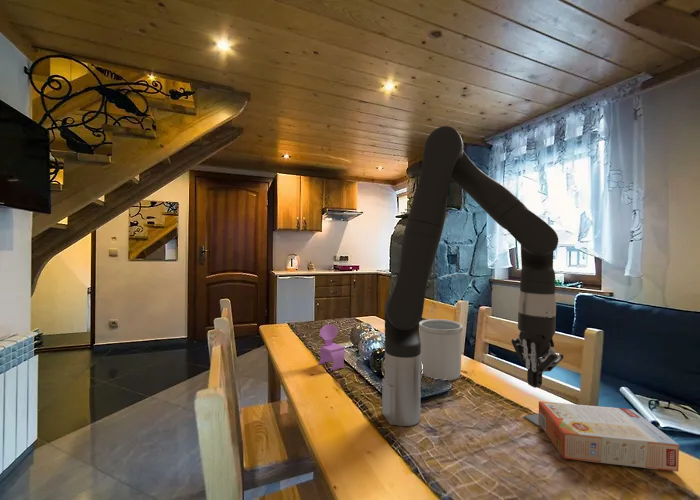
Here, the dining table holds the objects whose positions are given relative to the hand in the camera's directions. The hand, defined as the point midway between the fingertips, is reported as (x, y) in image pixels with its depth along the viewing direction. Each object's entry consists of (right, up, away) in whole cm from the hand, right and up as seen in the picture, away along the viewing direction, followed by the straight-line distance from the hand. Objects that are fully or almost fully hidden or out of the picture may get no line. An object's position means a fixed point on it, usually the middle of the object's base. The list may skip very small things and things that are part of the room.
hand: (534, 386), depth 75 cm
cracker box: (+3, -9, -1) cm, 10 cm away
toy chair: (-50, -12, +46) cm, 69 cm away
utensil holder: (-11, -12, +39) cm, 43 cm away
